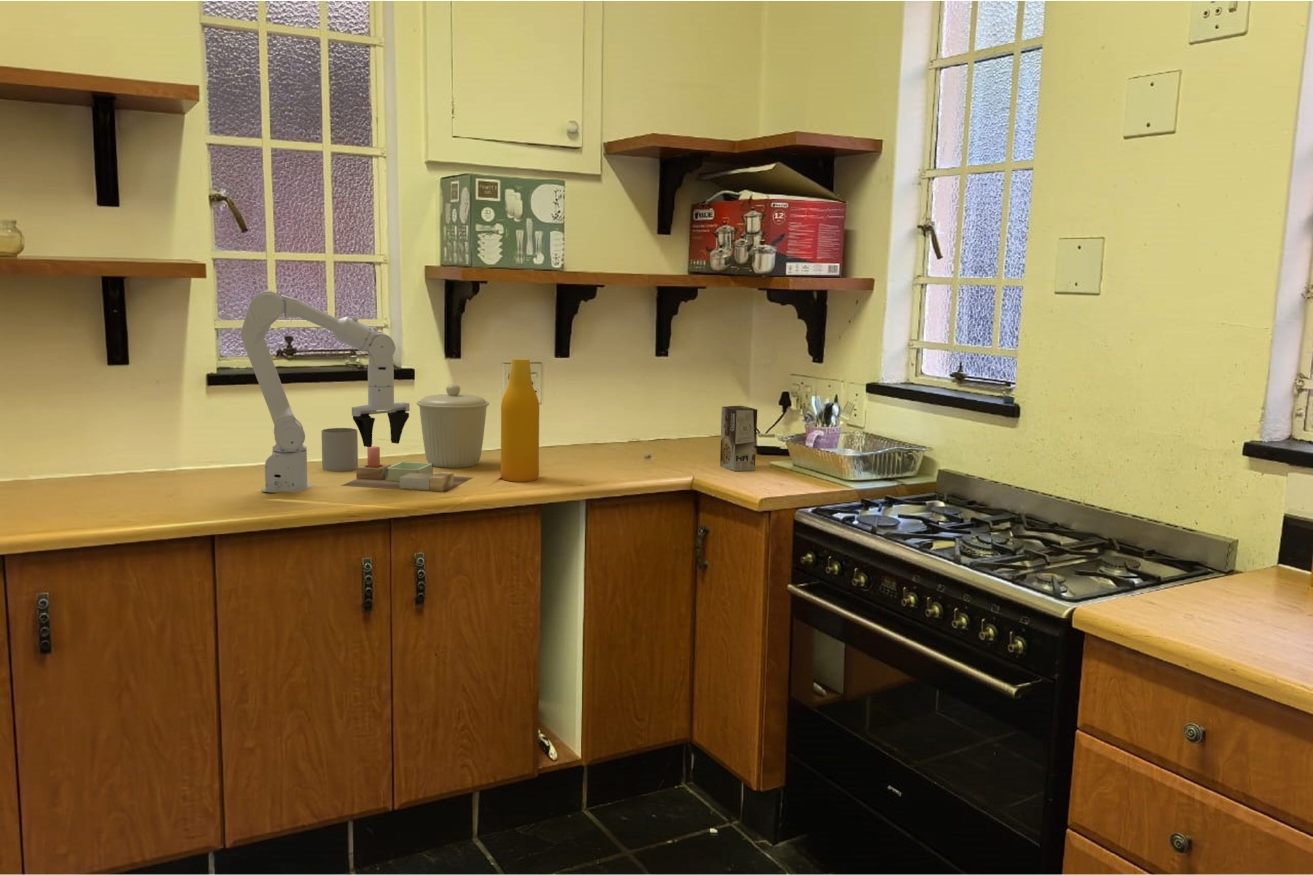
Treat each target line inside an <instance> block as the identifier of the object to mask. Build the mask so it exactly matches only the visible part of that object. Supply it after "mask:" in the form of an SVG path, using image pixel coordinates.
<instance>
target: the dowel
mask: <svg viewBox="0 0 1313 875" xmlns="http://www.w3.org/2000/svg"><path fill="white" fill-rule="evenodd" d="M380 450H381V447H380V446H372V447H367V450H366V452H367V463H368V467H370V468H379V467H380V463H381V458H380V457H381V453H380Z"/></svg>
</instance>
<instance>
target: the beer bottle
mask: <svg viewBox="0 0 1313 875" xmlns="http://www.w3.org/2000/svg"><path fill="white" fill-rule="evenodd" d="M530 362H531V361H530V358H522V357H520V358H516V357H515V358H511V363H510V372H509V380H508V385H507V388H506V390H505V391H504V394H503V396H502V399H501V403H500V413H501V414H500V478H501V479H502V480H503V481H507V482H513V483H514V482H515V483H525V482H526V483H528V482H534V481H536V480H538V479H539V476H540V462H539V461H540V402H539V398H538V395H537V393H536V391H535V389H534V387H533V382H532V372H531V363H530Z"/></svg>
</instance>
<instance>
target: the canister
mask: <svg viewBox="0 0 1313 875" xmlns="http://www.w3.org/2000/svg"><path fill="white" fill-rule="evenodd" d="M445 391H446V393H443V394H442V393H441V394H440V393H439V394H431V395H427V396H424V397H422V398H421V399H420V400H417V402H416V405H417V406H418V407H419V415H420V416H419V417H420V423H421V424H420V425H421V432H422V443H423V447H424V454H425V459H426V461H427V463H431V464H433V467H437V468H443V469H445V468H446V469H457V468H458V469H459V468H460V469H461V468H462V469H463V468H469V467H475V466H477V464H478V463H479V462H480V460H481V457H482V451H483V443H484V437H485V436H484V435H485V425H486V418H487V417H486V416H487V408H488V406H489V405H490V402H489V401H488V400H485V398H483V397H481V396H479V395H473V394H463V393H461V394H460V392H461V387H460V385H458V384H457V383H450V384H448V385H446V387H445Z"/></svg>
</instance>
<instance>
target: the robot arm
mask: <svg viewBox="0 0 1313 875" xmlns="http://www.w3.org/2000/svg"><path fill="white" fill-rule="evenodd" d="M280 295H281V296H280ZM280 295H279V294H278V293H277V292H275V291H272V290H262V291H260V292H258V293H257V294H256V295H255V296H254V298H252V301H251V302H249V304H248V307H247V310H246V314H245V317H244V320H243V324H242V327H241V330H240V337H241V340H242V343H243V346H244V348H245V351H246V354H247V356H248V359H249V362H250V364H251V367H252V370H253V372H254V375H255V377H256V380H257V382H258V383H257V384H258V385H259V388H260V390H261V392H262V396H263V398H264V400H265V403H266V406H267V409H268V412H269V414H270V417H271V420H272V423H273V425H274V427H273V428H274V429H273V434H274V440H275V445H274V446H272V451H271V452H272V453H271V455H270V456H269V457H267V459H266V460H265V463H264V478H265V480H264V481H265V484H264V486H265V488H263V489H261V492H263V493H274V494H275V493H276V494H277V493H280V492H282V493H297V492H299V491H302V490H305V489H308V488H310V487H312V486H316V483H308V456H307V455H308V451H307V448H308V447H307V446H306V445H304V443H305V440H306V439H305V438H306V433H305V431H304V430H305V429H304V426H303V424H302V423H301V422H300V421H299V420H298V419H297V418H296V417H295V416H294V413H293V410H292V407H291V406H290V403H289V400H288V398H287V394H286V391H285V389H284V387H283V384H282V382H281V379H280V375H279V374H278V371H277V368H276V366H275V362H274V360H273V356H272V355H271V352H270V350H269V347H268V345H267V342H266V339H265V338H266V336H267V333H268V332H269V330H270V328H271V326H272V325H273V324H274V323H276V322H277V321H278V319H279V318H280V317H281V316H282V315H283V314H284V316H283V317H284V318H286V319H287V318H300V319H302V320H304V321H307V322H309V323H312V324H314V325H317V326H319V327H321V328H324V329H326V330H327V331H331V332H332V333H333V335H334V339H335V340H336V341H338V342H340V343H342V344H344V345H348V346H349V347H352V348H354V349H356V350H358V351H360V352H364V351H365V352H367V353H368V365H367V404H364V405H358V406H352V407H351V416H352V420H353V421H354V423H355V425H356V427H357V428H358V429H357V430H358V432H359V434H360V437H361V441H362V444H363V447H365V448H366V447H373V429H374V424H375V421H376V418H375V417H373V416H371V415H380V414H387V417H388V421H389V427H390V430H389V431H390V441H391V444H400V440H401V436H402V433H403V431H404V430H403V429H404V427H405V425H406V424H407V421H408V419H409V418H410V413H409V412H410V408H411V407H410V402H395V378H394V376H395V375H394V374H395V372H394V371H395V370H394V368H395V367H394V354H395V352H396V349H397V347H396V346H395V341H394V340H393V339H392V337H391V336H389V335H387V334H386V333H384V332H383V331H379V330H378V329H379V328H378V327H375V326H373V327H371V326H369V325H366V324H364V323H362V322H360V321H359V318H357V317H355V316H351V317H349V316H344V317H341V318H337V317H334V316H332V315H330V314H328V313H326V312H325V311H322V310H320V309H318V308H316V307H314V306H312V305H311V304H308V303H306V302H304V301H302V300H300V299H297V298H294V297H291V296H287V295H283V294H280Z"/></svg>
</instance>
